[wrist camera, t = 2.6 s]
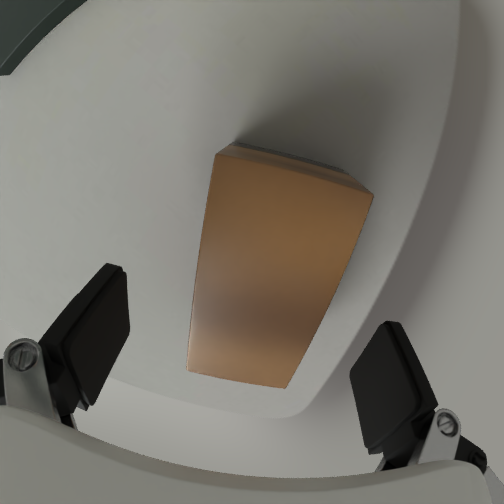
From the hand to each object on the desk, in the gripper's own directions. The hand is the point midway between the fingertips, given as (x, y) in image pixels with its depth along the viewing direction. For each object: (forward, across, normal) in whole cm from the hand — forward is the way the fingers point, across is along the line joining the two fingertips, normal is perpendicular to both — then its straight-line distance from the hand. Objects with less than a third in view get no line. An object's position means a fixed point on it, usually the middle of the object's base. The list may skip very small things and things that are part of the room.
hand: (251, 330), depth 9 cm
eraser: (+5, 0, 0) cm, 5 cm away
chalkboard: (+5, +20, -22) cm, 30 cm away
